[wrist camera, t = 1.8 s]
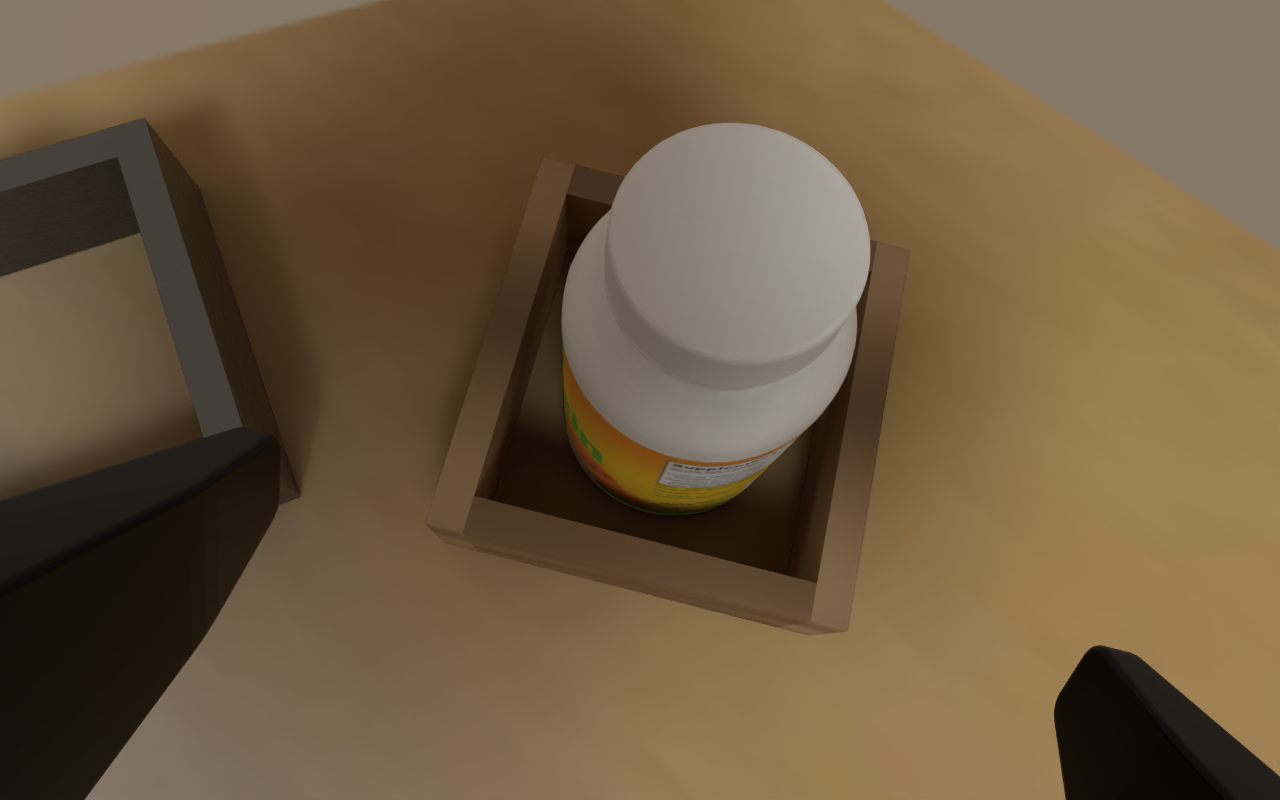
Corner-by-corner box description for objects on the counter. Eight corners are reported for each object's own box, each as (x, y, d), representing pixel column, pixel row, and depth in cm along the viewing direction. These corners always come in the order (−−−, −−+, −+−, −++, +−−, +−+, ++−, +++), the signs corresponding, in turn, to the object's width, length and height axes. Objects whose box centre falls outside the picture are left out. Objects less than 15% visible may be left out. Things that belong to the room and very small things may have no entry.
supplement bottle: (548, 333, 22) (530, 101, 13) (747, 302, 23) (865, 60, 14) (584, 538, 21) (593, 439, 12) (796, 498, 22) (964, 376, 12)
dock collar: (300, 496, 21) (246, 463, 17) (-102, 651, 19) (-250, 648, 16) (197, 185, 23) (131, 101, 19) (-172, 301, 21) (-316, 231, 18)
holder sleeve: (809, 635, 21) (848, 631, 18) (445, 542, 21) (424, 523, 18) (868, 300, 23) (909, 250, 20) (546, 218, 23) (542, 156, 20)
